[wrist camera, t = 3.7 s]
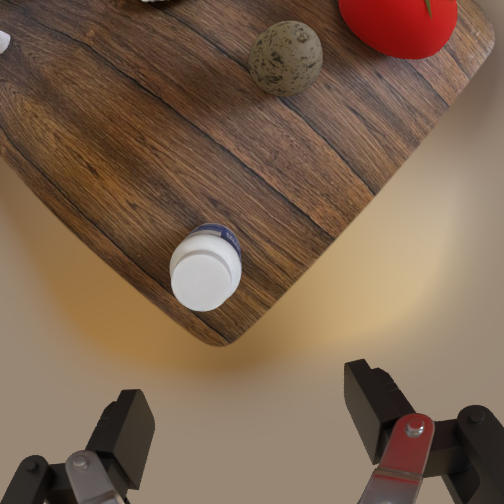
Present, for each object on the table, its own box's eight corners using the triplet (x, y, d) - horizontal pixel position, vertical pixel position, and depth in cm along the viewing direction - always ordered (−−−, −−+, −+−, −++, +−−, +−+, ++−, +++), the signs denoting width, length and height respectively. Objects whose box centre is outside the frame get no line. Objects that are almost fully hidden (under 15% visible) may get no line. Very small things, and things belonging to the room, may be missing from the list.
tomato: (309, 28, 25) (338, -27, 15) (355, -31, 23) (388, -81, 12) (400, 90, 27) (460, 63, 16) (434, 24, 24) (484, -8, 14)
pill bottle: (243, 274, 30) (246, 317, 21) (188, 279, 30) (169, 324, 21) (237, 218, 29) (237, 238, 20) (180, 225, 29) (154, 248, 20)
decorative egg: (303, 47, 25) (331, -1, 16) (314, 102, 27) (349, 70, 17) (243, 52, 25) (245, 0, 16) (251, 107, 27) (258, 73, 17)
